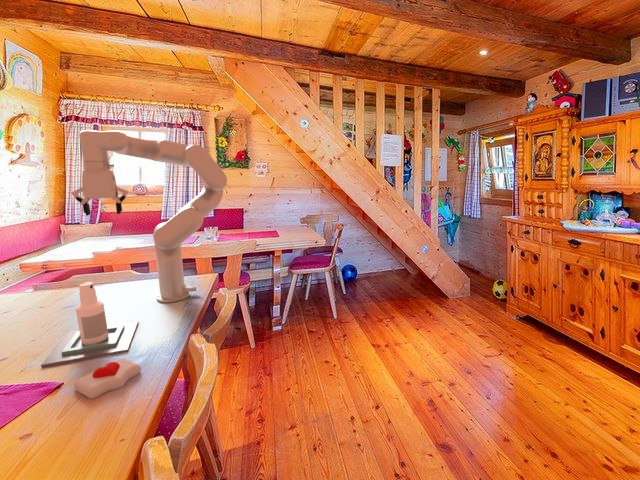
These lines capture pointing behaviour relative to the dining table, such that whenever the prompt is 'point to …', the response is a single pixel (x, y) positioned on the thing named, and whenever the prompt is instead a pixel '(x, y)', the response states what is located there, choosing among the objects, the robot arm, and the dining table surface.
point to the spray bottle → (91, 316)
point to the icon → (107, 378)
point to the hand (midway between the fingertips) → (103, 214)
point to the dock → (76, 351)
